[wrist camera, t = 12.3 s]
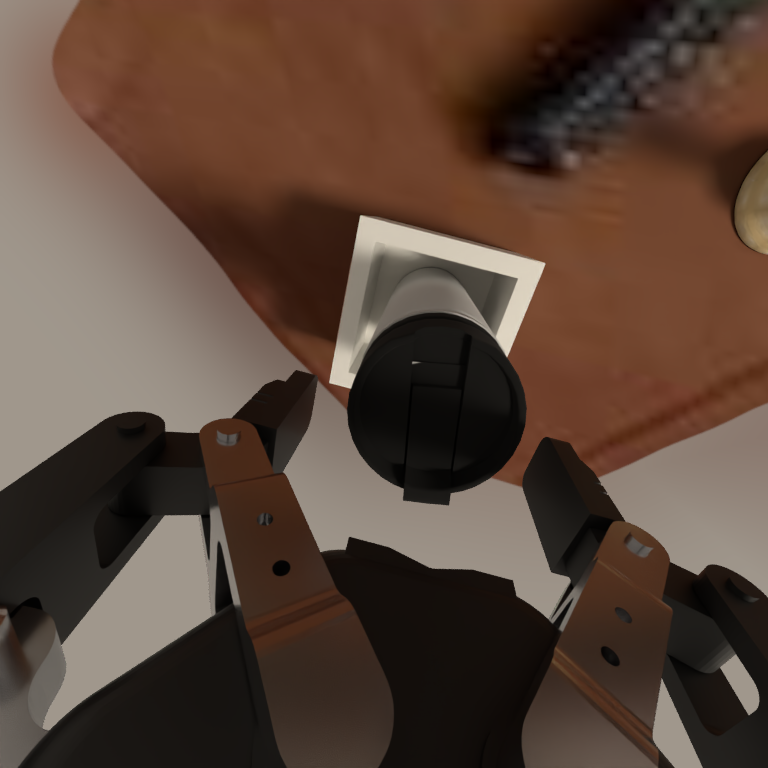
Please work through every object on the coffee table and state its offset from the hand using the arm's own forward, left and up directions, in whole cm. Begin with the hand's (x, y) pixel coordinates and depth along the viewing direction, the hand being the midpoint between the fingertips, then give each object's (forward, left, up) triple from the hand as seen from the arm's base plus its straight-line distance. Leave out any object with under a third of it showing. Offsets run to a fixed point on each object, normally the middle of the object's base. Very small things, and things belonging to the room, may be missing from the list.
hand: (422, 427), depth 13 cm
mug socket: (0, 0, -21) cm, 21 cm away
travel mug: (0, 0, -20) cm, 20 cm away
